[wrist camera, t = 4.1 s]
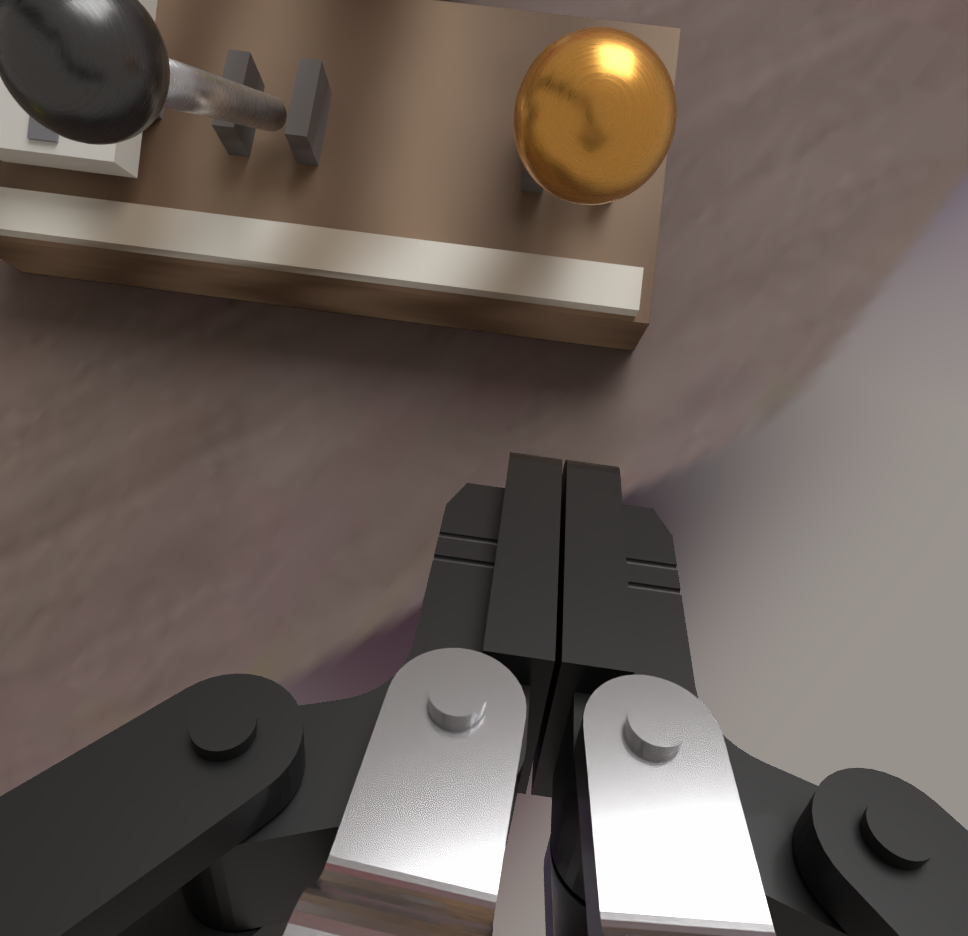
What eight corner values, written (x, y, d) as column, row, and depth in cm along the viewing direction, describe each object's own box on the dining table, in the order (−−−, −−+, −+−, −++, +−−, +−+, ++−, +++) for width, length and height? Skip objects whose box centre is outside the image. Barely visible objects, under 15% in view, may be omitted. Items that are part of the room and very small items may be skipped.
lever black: (224, 158, 28) (-40, 128, 15) (224, 55, 27) (-63, -69, 14) (315, 169, 28) (124, 149, 15) (318, 66, 27) (115, -49, 14)
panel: (20, 271, 31) (-66, 212, 26) (86, 13, 33) (19, -86, 28) (633, 350, 30) (660, 304, 25) (662, 81, 32) (692, -9, 27)
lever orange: (519, 195, 28) (498, 195, 15) (533, 91, 26) (521, -2, 14) (612, 206, 28) (670, 216, 15) (629, 103, 26) (708, 20, 14)
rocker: (3, 161, 28) (-32, 142, 26) (24, -34, 27) (-10, -67, 26) (137, 178, 27) (111, 160, 26) (159, -19, 27) (135, -51, 25)
